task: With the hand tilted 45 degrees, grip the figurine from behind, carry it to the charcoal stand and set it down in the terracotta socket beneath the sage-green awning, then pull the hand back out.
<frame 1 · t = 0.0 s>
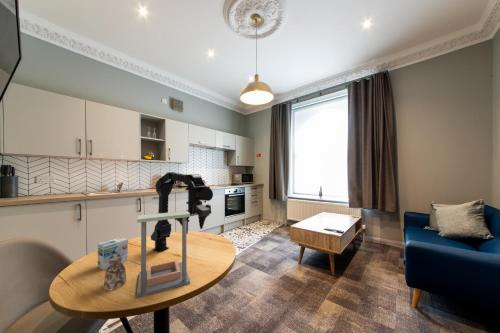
hand: (194, 231, 93), 15 cm above the table, tool pointing down, fingers open, 9 cm apart
awning stand: (163, 277, 78), on the table
figurine: (115, 285, 73), on the table
light bulb box: (113, 264, 91), on the table
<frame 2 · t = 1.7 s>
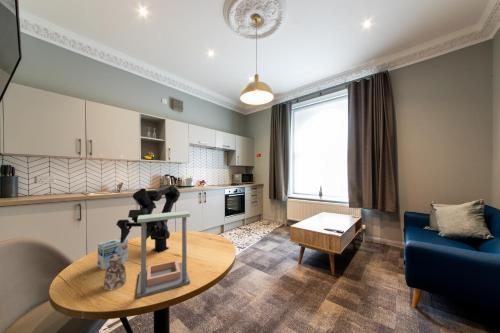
hand: (131, 242, 82), 13 cm above the table, tool tilted 45°, fingers open, 9 cm apart
nothing on the table moved.
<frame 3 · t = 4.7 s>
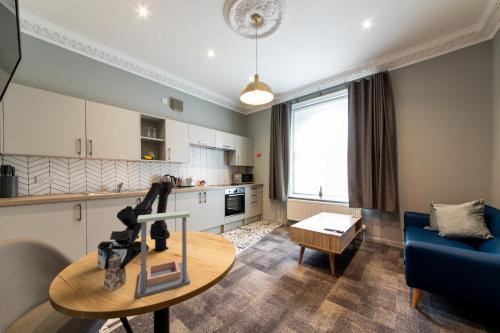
hand: (112, 269, 72), 7 cm above the table, tool tilted 45°, fingers closed on figurine, 6 cm apart
figurine: (115, 285, 73), on the table, touching gripper
everything else where it was.
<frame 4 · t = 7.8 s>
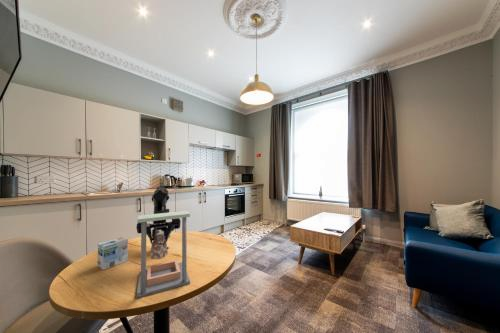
hand: (159, 242, 85), 12 cm above the table, tool tilted 45°, fingers closed on figurine, 6 cm apart
figurine: (158, 256, 86), point 5 cm above the table, touching gripper
everything else where it was.
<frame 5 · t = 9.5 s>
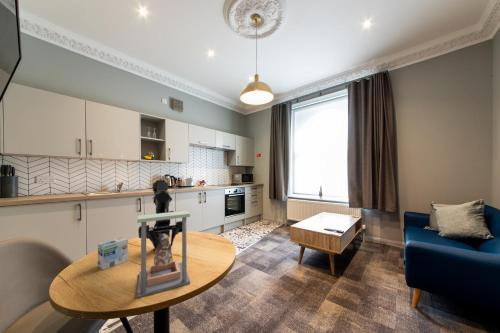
hand: (163, 247, 78), 12 cm above the table, tool tilted 45°, fingers closed on figurine, 6 cm apart
figurine: (163, 262, 79), point 6 cm above the table, touching gripper
everything else where it was.
when the fingers open (9 cm above the table, at t = 11.0 s): figurine drops 1 cm, resting on awning stand.
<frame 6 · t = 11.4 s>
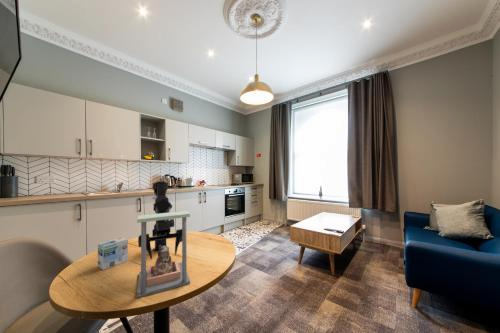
hand: (163, 256, 77), 9 cm above the table, tool tilted 45°, fingers open, 9 cm apart
figurine: (163, 275, 78), point 1 cm above the table, touching awning stand
everything else where it was.
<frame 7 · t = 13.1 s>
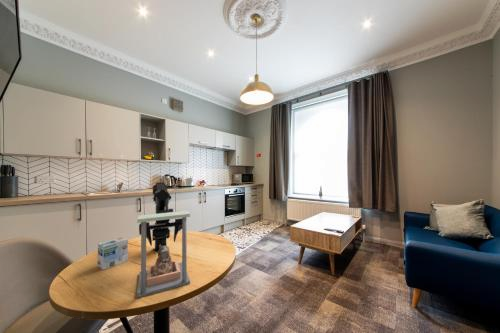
hand: (163, 243, 81), 13 cm above the table, tool tilted 45°, fingers open, 9 cm apart
nothing on the table moved.
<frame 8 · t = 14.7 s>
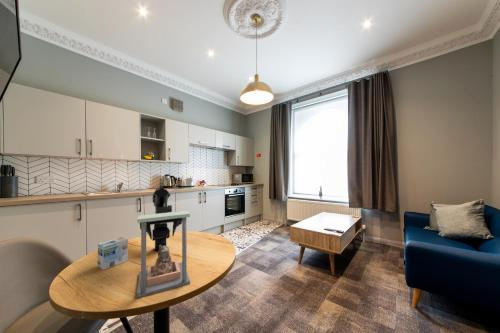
hand: (162, 237, 87), 14 cm above the table, tool tilted 45°, fingers open, 9 cm apart
nothing on the table moved.
at the end: figurine 0.1 cm off-centre on the awning stand, point 0.8 cm above the awning stand's base; the gripper is holding nothing; figurine tilted 0° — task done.
